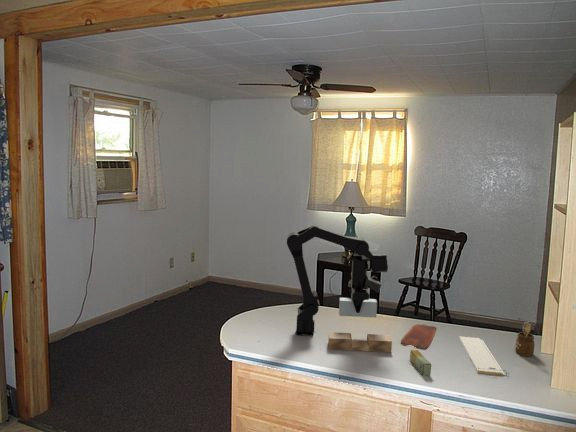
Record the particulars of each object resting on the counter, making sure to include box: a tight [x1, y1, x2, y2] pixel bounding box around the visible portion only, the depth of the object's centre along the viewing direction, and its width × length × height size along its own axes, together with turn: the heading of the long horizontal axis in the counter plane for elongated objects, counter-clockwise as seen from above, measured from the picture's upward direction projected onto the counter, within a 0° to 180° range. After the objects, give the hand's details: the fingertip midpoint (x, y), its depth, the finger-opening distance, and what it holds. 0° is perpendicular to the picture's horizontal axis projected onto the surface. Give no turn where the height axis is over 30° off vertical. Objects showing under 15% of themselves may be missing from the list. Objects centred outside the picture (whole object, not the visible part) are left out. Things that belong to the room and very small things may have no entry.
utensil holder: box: [514, 321, 535, 357], centre depth 168 cm, size 6×6×12 cm
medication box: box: [409, 349, 432, 377], centre depth 154 cm, size 12×3×4 cm, turn 6°
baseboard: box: [458, 335, 510, 377], centre depth 165 cm, size 30×3×10 cm
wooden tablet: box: [400, 323, 437, 350], centre depth 183 cm, size 27×10×2 cm, turn 153°
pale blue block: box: [338, 297, 378, 319], centre depth 181 cm, size 14×4×6 cm, turn 87°
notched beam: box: [327, 331, 393, 353], centre depth 169 cm, size 22×6×4 cm, turn 87°
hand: (357, 311), depth 181 cm, fingers closed on pale blue block, 4 cm apart
